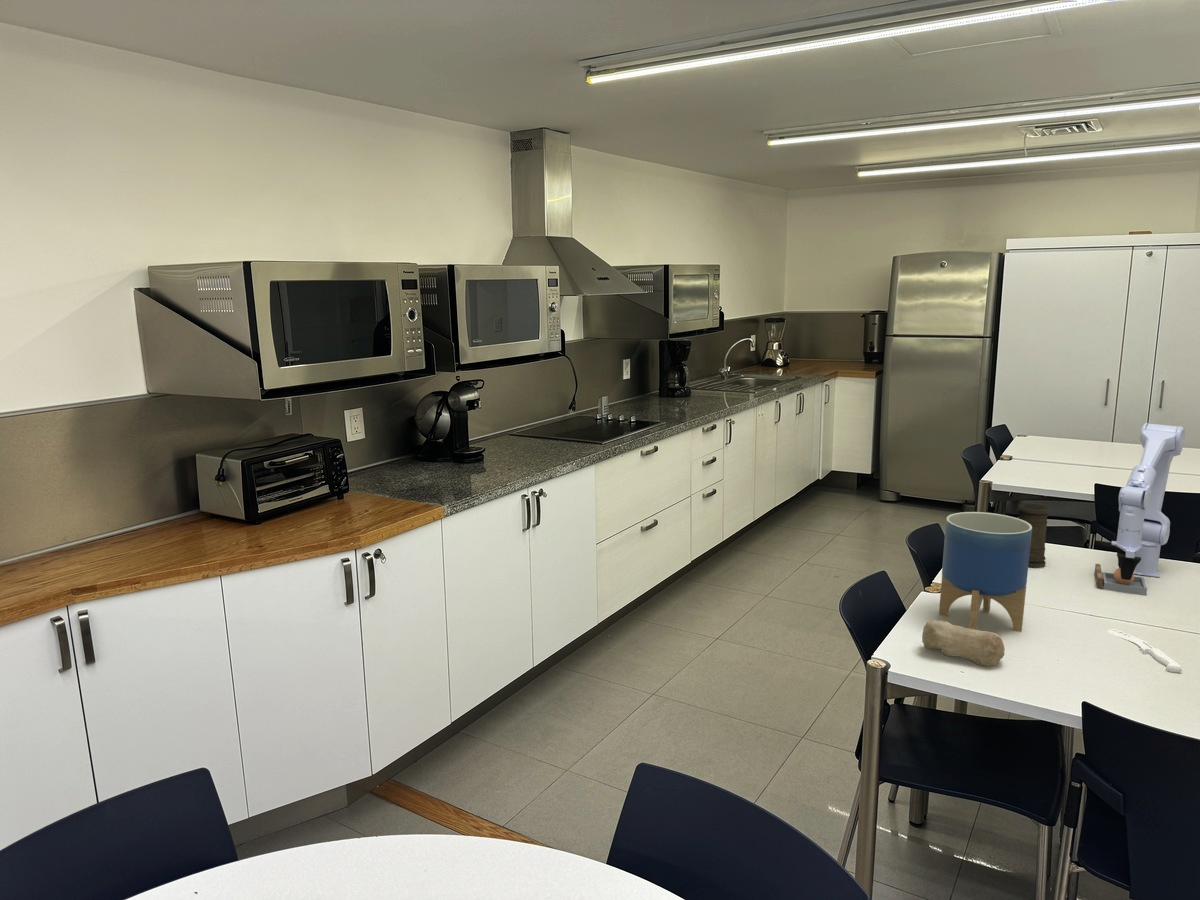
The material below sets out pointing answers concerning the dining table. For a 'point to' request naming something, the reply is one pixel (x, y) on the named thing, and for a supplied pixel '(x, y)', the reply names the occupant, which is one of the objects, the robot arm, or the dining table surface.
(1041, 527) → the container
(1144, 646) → the knife
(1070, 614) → the dining table surface
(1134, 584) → the tray
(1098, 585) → the rail
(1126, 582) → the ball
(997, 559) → the planter
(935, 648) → the tan rounded lump
